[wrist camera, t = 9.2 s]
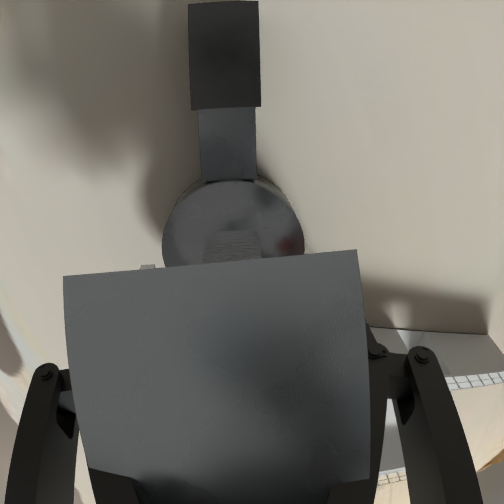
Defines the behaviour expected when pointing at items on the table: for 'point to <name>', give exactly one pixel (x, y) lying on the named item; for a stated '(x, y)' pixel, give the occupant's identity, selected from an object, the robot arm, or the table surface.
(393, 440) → the skate ramp
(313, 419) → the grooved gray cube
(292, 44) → the table surface
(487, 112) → the table surface
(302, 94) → the table surface
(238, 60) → the ratchet
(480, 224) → the table surface
